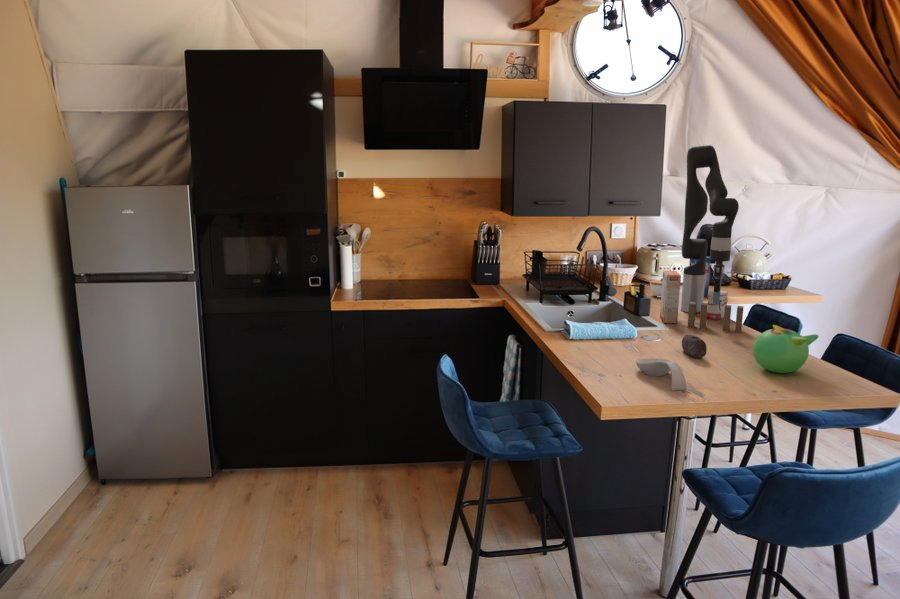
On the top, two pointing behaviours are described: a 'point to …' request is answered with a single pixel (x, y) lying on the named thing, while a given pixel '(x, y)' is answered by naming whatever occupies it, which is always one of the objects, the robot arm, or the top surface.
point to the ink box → (717, 306)
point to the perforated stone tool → (694, 346)
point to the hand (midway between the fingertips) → (717, 290)
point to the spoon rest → (663, 371)
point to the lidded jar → (656, 287)
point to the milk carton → (707, 273)
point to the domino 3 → (717, 295)
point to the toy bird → (782, 349)
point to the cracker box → (670, 296)
